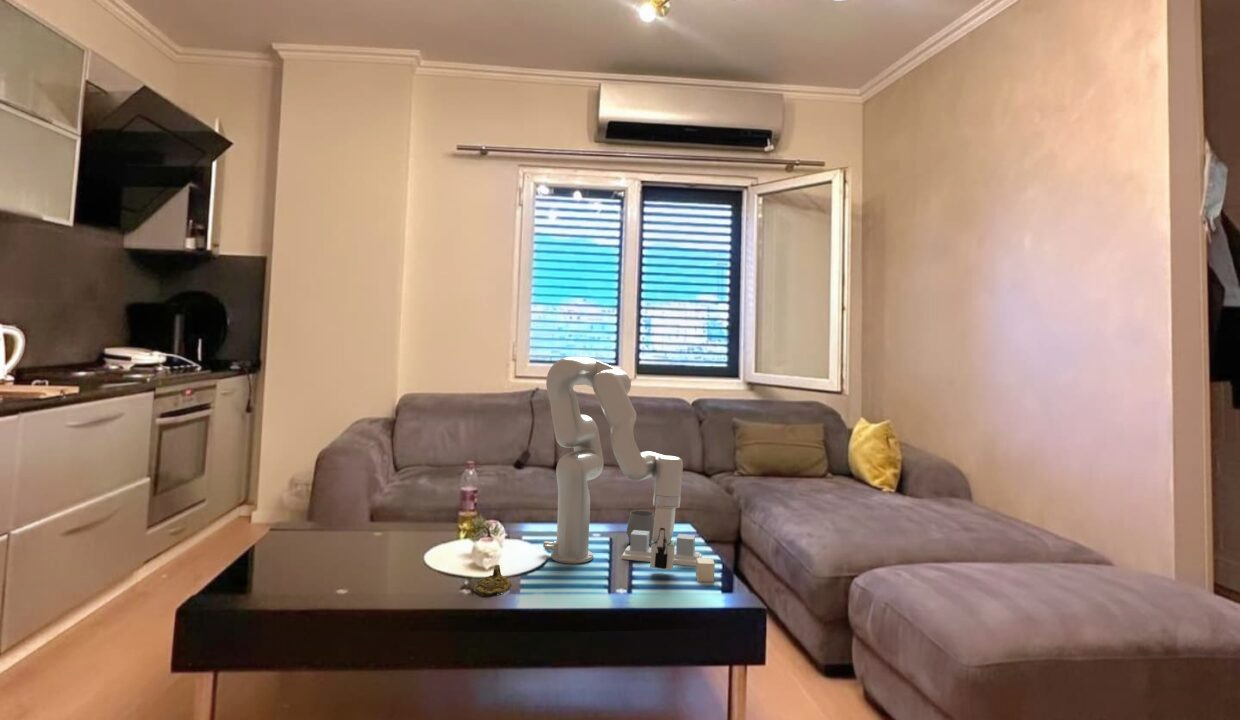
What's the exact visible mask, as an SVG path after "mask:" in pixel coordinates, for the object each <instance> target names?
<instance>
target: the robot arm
mask: <svg viewBox="0 0 1240 720" xmlns="http://www.w3.org/2000/svg"><path fill="white" fill-rule="evenodd" d="M545 381H546V382H545V383H546V390H547V391H546V392H547V395H548V400H549V405H550V410H551V418H552V425H553V430H554V436H555V441H556V442H557V444H559V445H558V446H560V447H563V448H573V451H572V452H571V451H570V452H568V453H566V454H564V455H562V457H560V458H559V460H558V462H557V464H556V468H555V474H556V481H557V523H556V531H557V532H556V540H554V541H548V540H547V541H546V540H544V541H543V544H542V545H543V546H542V547H543V548H544V549H545V550H552V552H551V553H550V558H551V559H552V560H553V561H554V562H558V563H563V564H571V565H572V564H573V565H574V564H576V565H577V564H584V563H588V562H591V561H592V560H593V559H594V553H593V552H592V551H590V550H589V542H590V541H589V539H590V538H589V537H590V517H591V515H590V513H591V512H590V511H591V506H590V505H591V498H590V497H591V495H590V489H589V485H588V481H591V480H595V479H596V478H598V477H599V476H600V475H601V474H602V471H603V470H604V464H605V463H604V462H605V461H604V455H603V454H604V453H603V449H602V443H601V437H600V433H599V427H598V425H597V423H596V421H595V420H594V419H593V418H592V417H591V416H589V415H587V414H582V413H581V411H580V410H581V409H580V406H579V403H580V402H579V399H578V397H577V395H576V393H575V390H574V386H585V385H586V386H589V387H591V388H592V389H593V392H594V394H595V397H596V399H597V400H598V404H599V405H600V406H599V407H601V410H602V412H603V414H604V416H605V419H606V420H607V422H608V425H609V429H610V431H609V434H610V444H611V445H610V446H611V449H612V451H613V452H612V453H613V455H614V458H615V460H616V462H617V464H618V467H619V469H620V470H621V472H622V473H623V475H624V476H625V478H626V479H627V480H630V481H632V482H641V481H643V480H646V479H651V478H654V488H653V500H652V505H653V506H655V512H654V516H653V517H654V526H653V536H652V541H653V542H655V541H656V540H657V539H658V540H657V550H656V556H655V567H656V568H655V569H657V568H664V569H665V568H666V566H667V554H666V553H667V544H668V543H669V542H670V541H672V538H673V535H674V528H675V521H676V519H675V518H676V509H678V508H680V507H681V506H680V505H681V496H682V495H681V494H682V483H683V471H684V470H683V467H684V465H683V464H684V463H683V462H684V461H683V459H682V458H681V457H679V456H674V455H665V454H661V453H657V452H654V451H649V450H646V451H645V450H644V451H641V450H640V449H639V447H638V444H637V443H636V440H635V439H636V438H635V436H634V435H635V434H634V427H635V423H636V420H637V416H638V415H637V411H636V410H635V408H634V406H633V403H632V402H631V401H632V400H630V397H629V395H628V393H629V392H630V391H631V387H632V381H631V379H630V377H629V375H628V373H627V372H625V371H623V370H622V369H620V368H618V367H614V366H612V365H609V364H608V363H604V362H602V361H600V360H597V359H595V358H592V357H585V356H584V357H583V356H567V357H563V358H560V359H558V360H557V361H556V362H554V363H553V364H552V366H551V367H550V368H549V370H548V372H547V376H546V379H545ZM640 451H641V452H640ZM664 540H665V541H666V543H664ZM652 541H651V542H652ZM663 545H665V547H664V546H663ZM664 548H665V549H664ZM664 569H663V570H664Z"/></svg>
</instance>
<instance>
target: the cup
mask: <svg viewBox="0 0 1240 720" xmlns="http://www.w3.org/2000/svg"><path fill="white" fill-rule="evenodd" d="M628 517H629V518H628V521H627V527H626V535H627V537H628V539H629V541H630V537H631V533H632V531H633V530H640V531H650V533H649V545H650V544H652V536H653V526H654V517H655V516H654V512H652V511H648V510H631V511H630V513H629V516H628Z"/></svg>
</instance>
